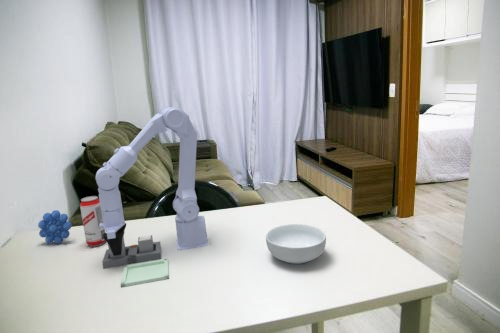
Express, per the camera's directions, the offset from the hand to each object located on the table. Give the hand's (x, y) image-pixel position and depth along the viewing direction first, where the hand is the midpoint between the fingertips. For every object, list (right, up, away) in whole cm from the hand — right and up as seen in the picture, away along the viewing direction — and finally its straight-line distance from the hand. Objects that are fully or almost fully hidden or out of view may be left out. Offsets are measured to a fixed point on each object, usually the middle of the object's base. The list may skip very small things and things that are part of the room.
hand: (118, 251), depth 101 cm
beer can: (-12, -1, +14) cm, 19 cm away
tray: (+11, -4, -8) cm, 14 cm away
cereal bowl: (+53, -1, -3) cm, 53 cm away
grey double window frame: (+4, -3, +2) cm, 5 cm away
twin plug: (+8, -2, +3) cm, 9 cm away
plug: (0, -2, 0) cm, 2 cm away
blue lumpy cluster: (-27, -1, +16) cm, 31 cm away
